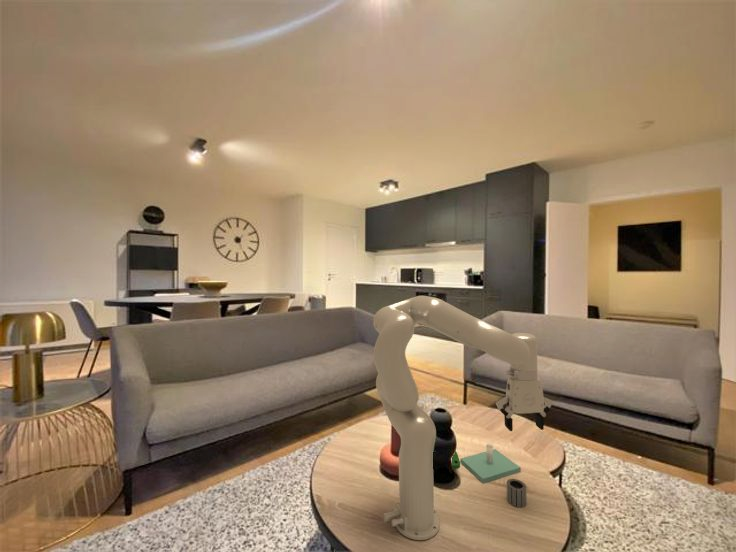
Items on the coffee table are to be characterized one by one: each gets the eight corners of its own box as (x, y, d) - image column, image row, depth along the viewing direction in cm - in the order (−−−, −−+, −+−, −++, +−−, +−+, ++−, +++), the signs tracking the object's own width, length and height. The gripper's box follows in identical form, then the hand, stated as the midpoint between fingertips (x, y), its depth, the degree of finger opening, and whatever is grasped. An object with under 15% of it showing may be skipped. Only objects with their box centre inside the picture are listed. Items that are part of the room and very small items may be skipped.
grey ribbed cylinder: (516, 509, 92) (516, 492, 92) (503, 497, 97) (502, 481, 97) (530, 504, 94) (530, 487, 94) (516, 492, 99) (516, 477, 99)
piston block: (483, 483, 104) (482, 457, 104) (460, 462, 115) (460, 439, 115) (520, 471, 109) (520, 447, 109) (495, 452, 121) (495, 430, 120)
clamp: (433, 487, 109) (423, 467, 107) (429, 472, 115) (420, 453, 112) (465, 475, 108) (456, 455, 106) (460, 460, 114) (452, 441, 111)
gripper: (501, 379, 94) (502, 436, 94) (558, 376, 94) (559, 433, 95) (490, 370, 101) (491, 423, 102) (543, 368, 102) (544, 421, 102)
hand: (524, 428), depth 98 cm, fingers open, 9 cm apart
